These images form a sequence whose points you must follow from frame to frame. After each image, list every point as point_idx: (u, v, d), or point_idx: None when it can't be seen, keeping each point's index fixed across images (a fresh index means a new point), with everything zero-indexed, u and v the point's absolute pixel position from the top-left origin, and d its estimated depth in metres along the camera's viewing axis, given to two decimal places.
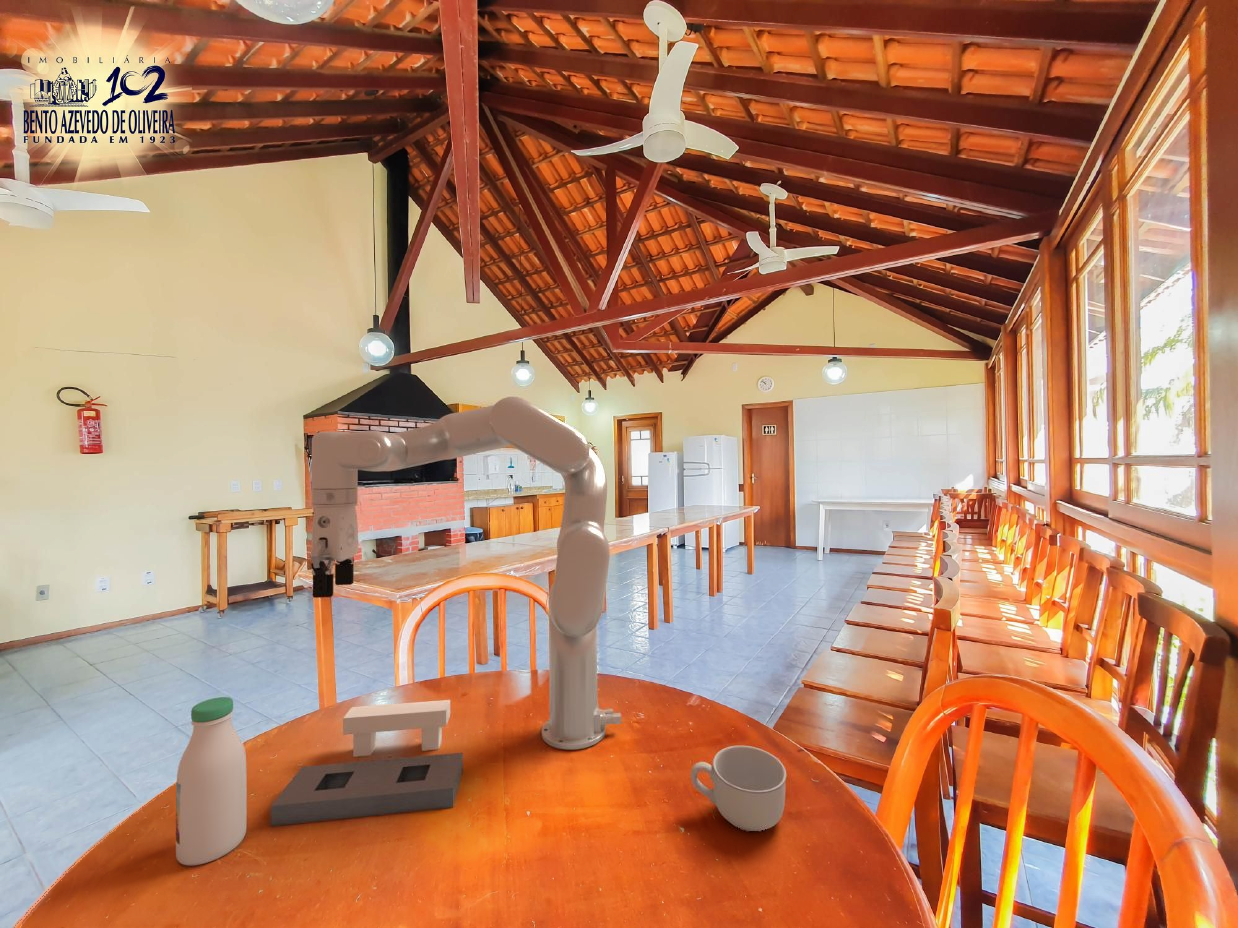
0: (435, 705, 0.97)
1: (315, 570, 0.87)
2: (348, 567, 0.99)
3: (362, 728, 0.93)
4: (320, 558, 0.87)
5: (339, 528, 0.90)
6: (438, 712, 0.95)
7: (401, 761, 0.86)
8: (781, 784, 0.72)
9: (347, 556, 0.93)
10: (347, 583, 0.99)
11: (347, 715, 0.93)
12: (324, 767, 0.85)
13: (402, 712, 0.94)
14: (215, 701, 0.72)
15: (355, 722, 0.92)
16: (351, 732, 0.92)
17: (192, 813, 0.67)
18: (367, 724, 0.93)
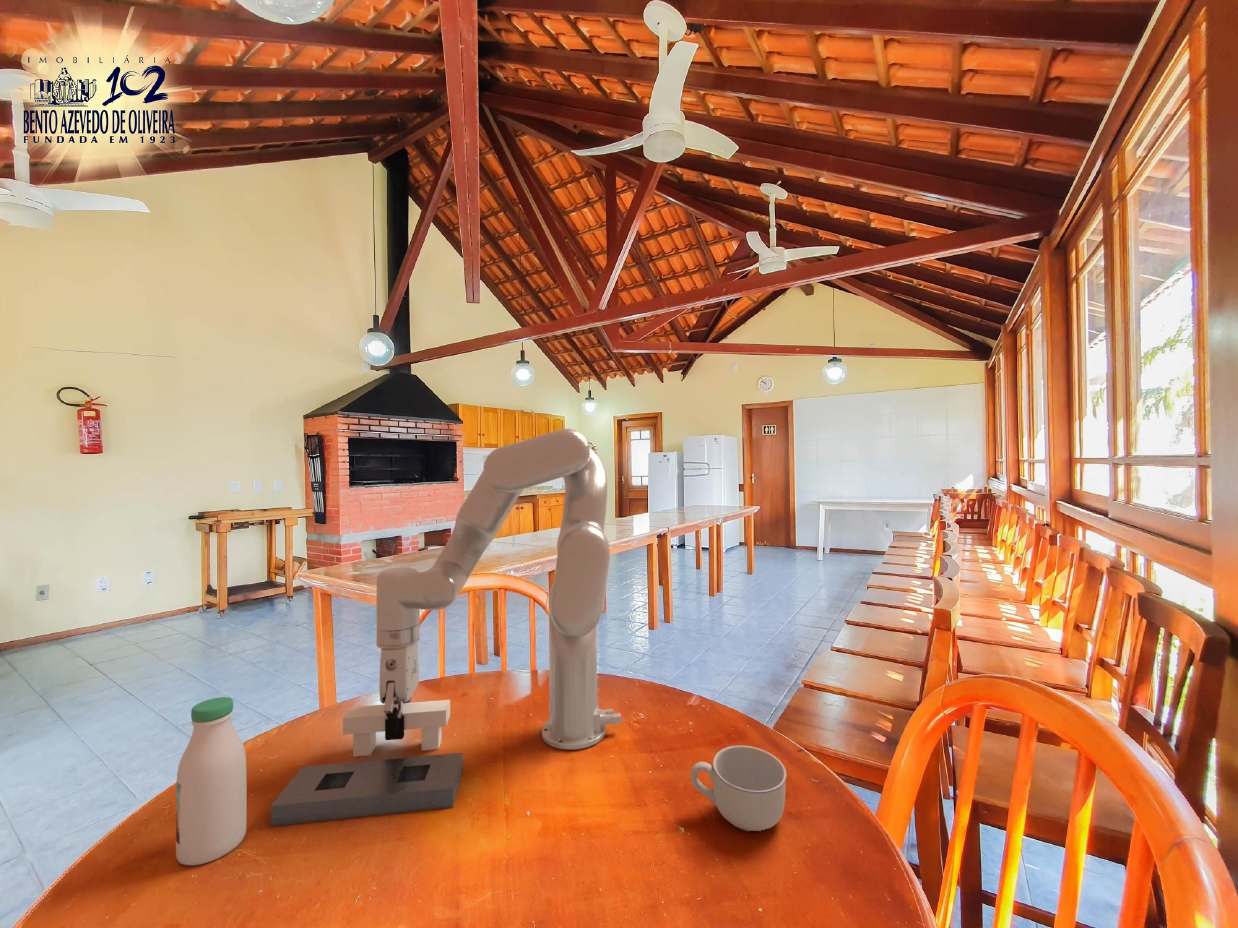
0: (435, 705, 0.97)
1: (388, 716, 0.91)
2: None
3: (362, 728, 0.93)
4: (393, 708, 0.90)
5: (406, 669, 0.92)
6: (438, 712, 0.95)
7: (401, 761, 0.86)
8: (781, 784, 0.72)
9: (412, 693, 0.95)
10: None
11: (347, 715, 0.93)
12: (324, 767, 0.85)
13: (402, 712, 0.94)
14: (215, 701, 0.72)
15: (355, 721, 0.92)
16: (351, 732, 0.92)
17: (192, 813, 0.67)
18: (367, 724, 0.93)
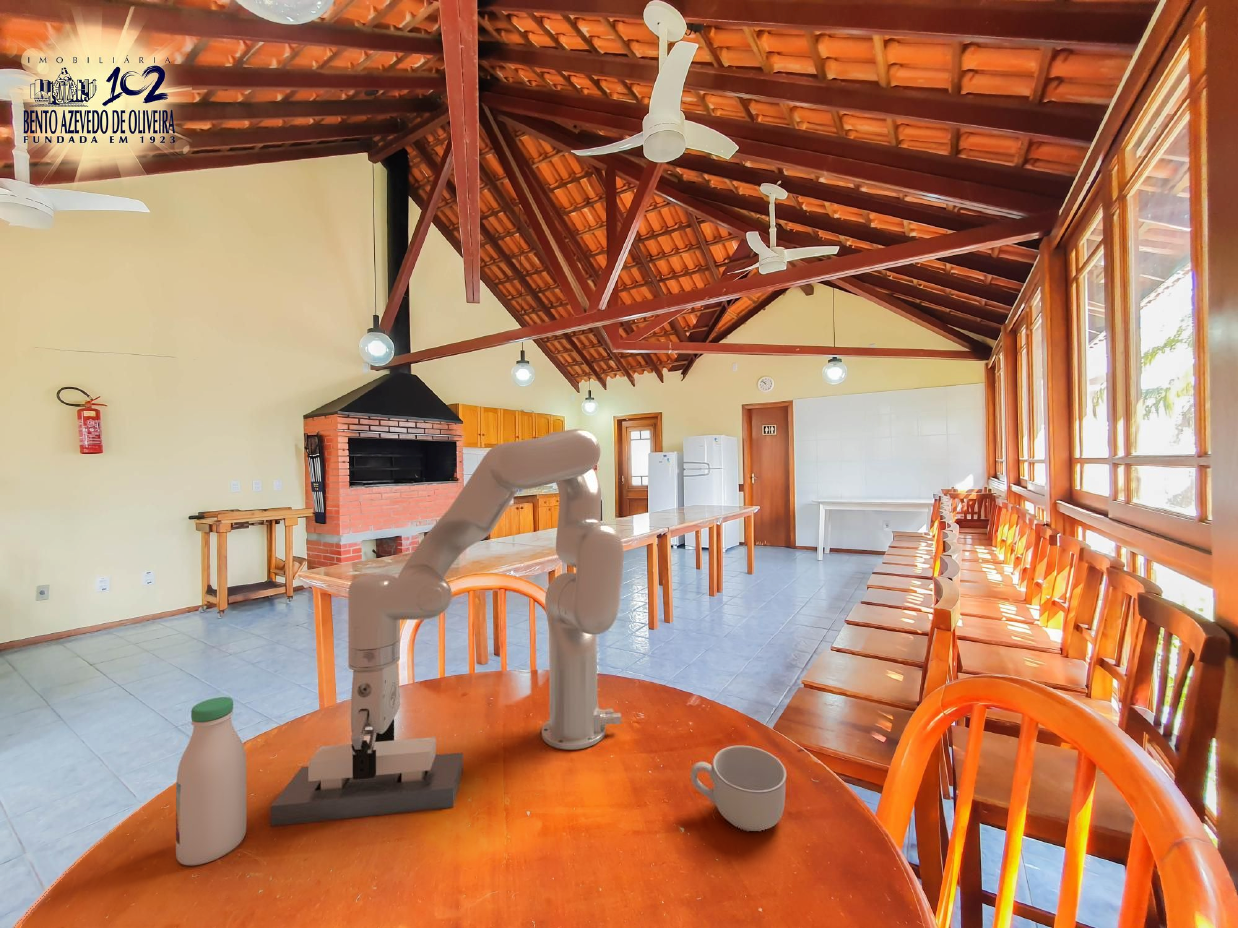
0: (418, 744, 0.83)
1: (356, 751, 0.75)
2: None
3: (331, 773, 0.79)
4: (362, 738, 0.75)
5: (382, 695, 0.78)
6: (421, 754, 0.81)
7: None
8: (781, 784, 0.72)
9: (390, 722, 0.81)
10: None
11: (314, 758, 0.79)
12: None
13: (378, 754, 0.80)
14: (215, 701, 0.72)
15: (323, 766, 0.79)
16: (318, 778, 0.79)
17: (192, 813, 0.67)
18: (336, 769, 0.79)
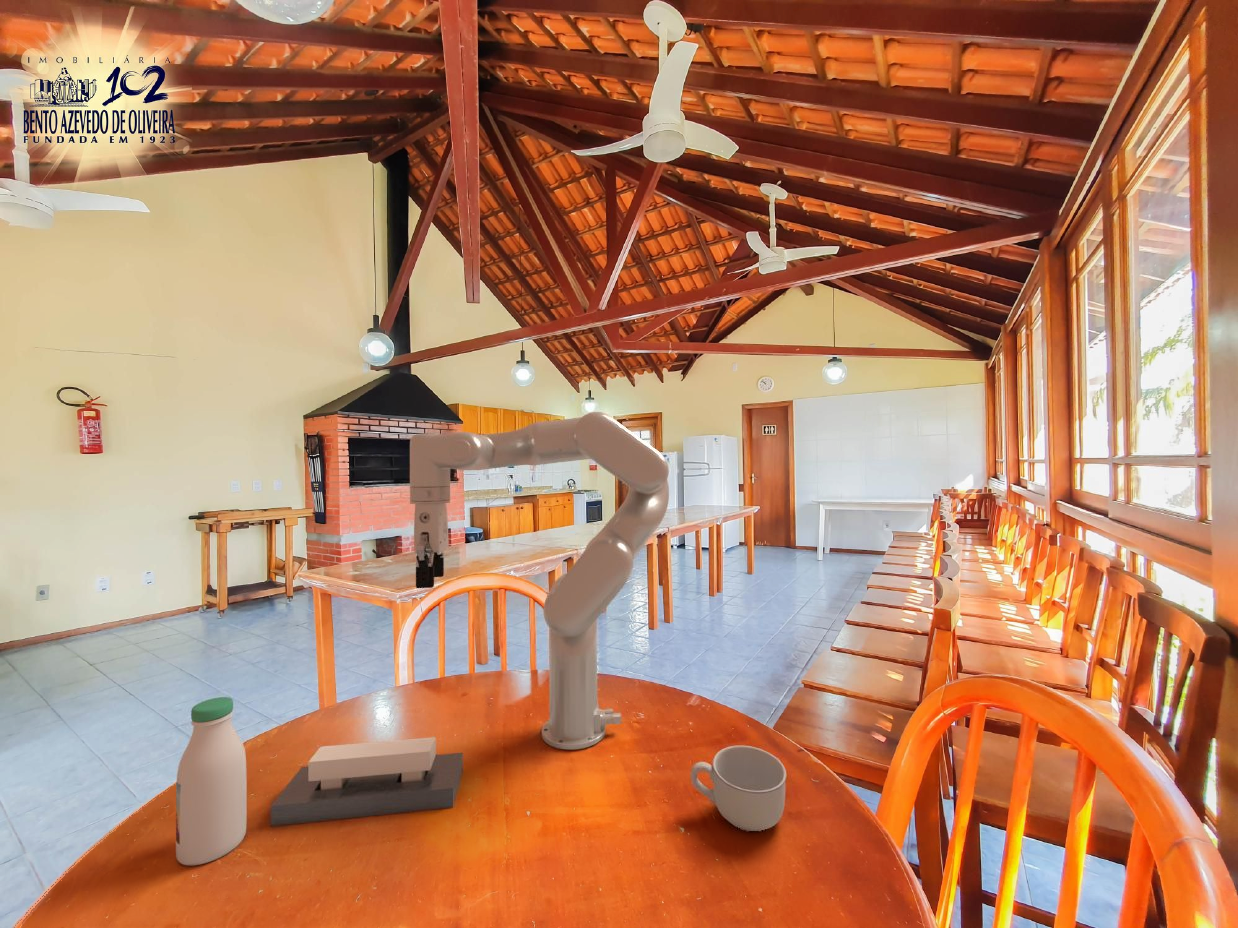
0: (418, 744, 0.83)
1: (419, 562, 0.94)
2: (439, 560, 1.05)
3: (331, 773, 0.79)
4: (425, 551, 0.93)
5: (439, 523, 0.97)
6: (421, 754, 0.81)
7: None
8: (781, 784, 0.72)
9: (443, 550, 1.00)
10: (438, 575, 1.05)
11: (314, 758, 0.79)
12: None
13: (378, 754, 0.80)
14: (215, 701, 0.72)
15: (323, 766, 0.79)
16: (318, 778, 0.79)
17: (192, 813, 0.67)
18: (336, 769, 0.79)
